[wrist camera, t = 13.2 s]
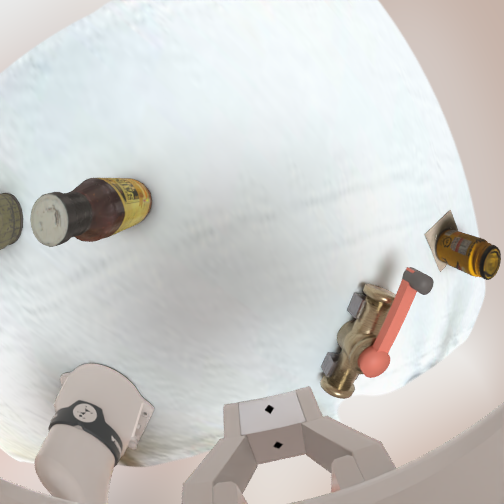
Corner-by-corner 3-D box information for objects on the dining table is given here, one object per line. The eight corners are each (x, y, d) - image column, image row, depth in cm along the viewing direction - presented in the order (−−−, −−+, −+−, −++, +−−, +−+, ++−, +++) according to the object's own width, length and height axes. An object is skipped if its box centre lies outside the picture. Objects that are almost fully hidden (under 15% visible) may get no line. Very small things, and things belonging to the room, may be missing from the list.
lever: (352, 368, 38) (363, 385, 34) (400, 263, 35) (418, 272, 30) (375, 371, 38) (387, 386, 34) (422, 271, 35) (440, 280, 31)
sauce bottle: (160, 188, 37) (99, 196, 17) (144, 231, 38) (77, 277, 19) (118, 171, 35) (33, 168, 16) (103, 213, 37) (16, 244, 17)
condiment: (439, 271, 44) (484, 294, 32) (424, 234, 42) (473, 251, 30) (463, 247, 44) (508, 264, 32) (449, 209, 42) (498, 220, 30)
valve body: (345, 378, 47) (360, 402, 40) (315, 375, 46) (327, 401, 39) (388, 289, 43) (411, 305, 37) (357, 280, 42) (379, 297, 36)
